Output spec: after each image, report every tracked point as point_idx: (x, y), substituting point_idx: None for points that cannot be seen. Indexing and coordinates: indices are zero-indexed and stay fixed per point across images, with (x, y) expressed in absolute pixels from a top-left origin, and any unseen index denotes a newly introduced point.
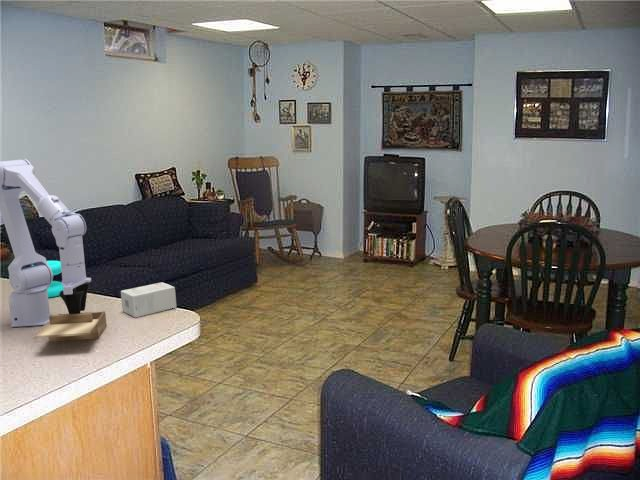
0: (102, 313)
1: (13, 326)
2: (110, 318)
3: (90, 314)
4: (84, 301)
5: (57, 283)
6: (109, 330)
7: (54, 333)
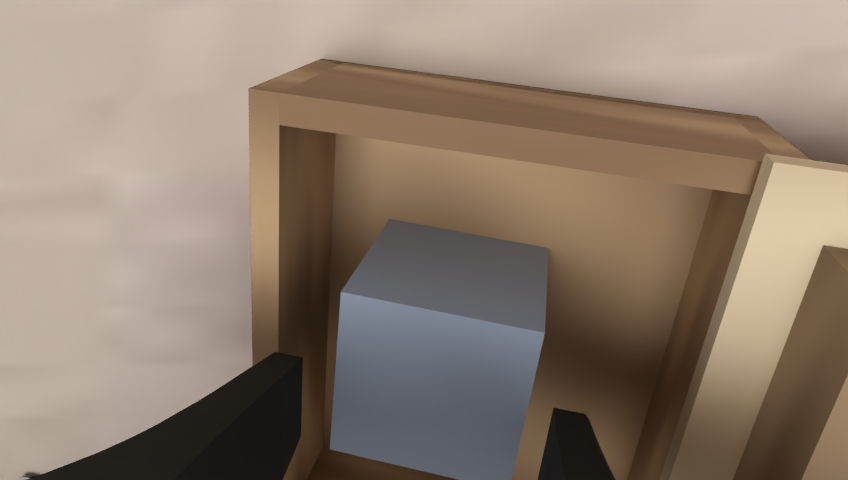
0: (338, 121)
1: None
2: (82, 35)
3: None
4: (242, 424)
5: None
6: (492, 12)
7: None
